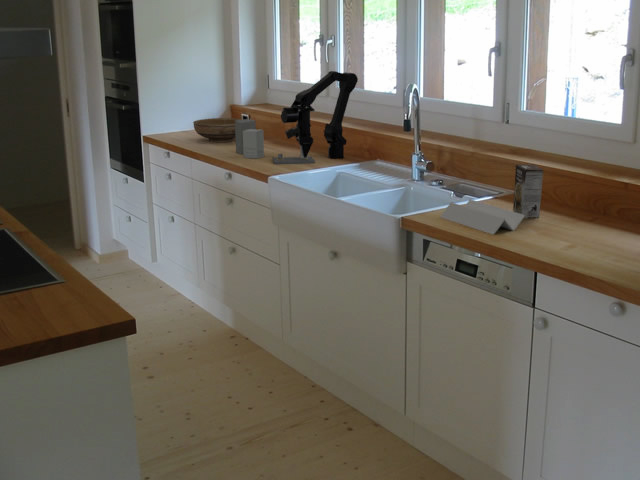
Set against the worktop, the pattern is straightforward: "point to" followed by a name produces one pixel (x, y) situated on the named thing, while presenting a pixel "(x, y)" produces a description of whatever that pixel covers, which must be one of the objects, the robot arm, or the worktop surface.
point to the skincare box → (239, 128)
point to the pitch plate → (291, 160)
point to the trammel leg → (302, 153)
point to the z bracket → (482, 216)
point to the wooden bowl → (216, 129)
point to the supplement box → (253, 143)
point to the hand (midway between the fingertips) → (304, 156)
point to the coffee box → (528, 190)
